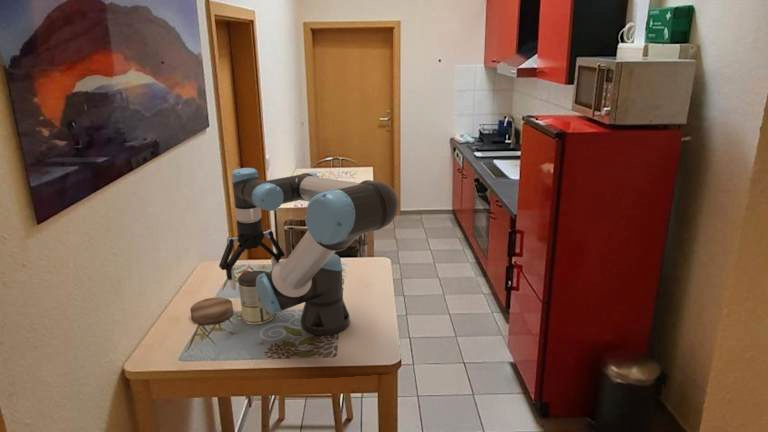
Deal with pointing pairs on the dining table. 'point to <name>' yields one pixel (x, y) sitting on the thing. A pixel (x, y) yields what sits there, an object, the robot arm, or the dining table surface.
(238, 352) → the dining table surface
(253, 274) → the coffee can
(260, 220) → the robot arm
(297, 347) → the dining table surface
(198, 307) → the pedestal
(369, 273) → the dining table surface
